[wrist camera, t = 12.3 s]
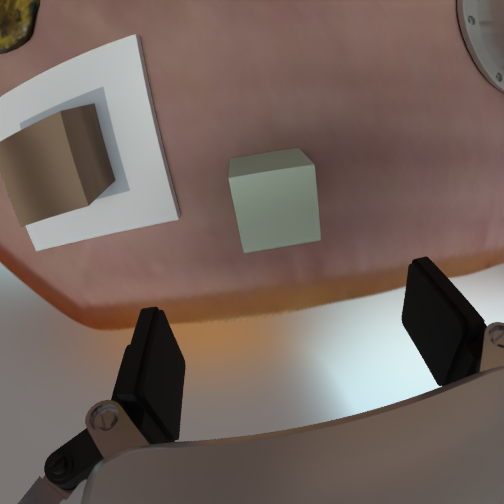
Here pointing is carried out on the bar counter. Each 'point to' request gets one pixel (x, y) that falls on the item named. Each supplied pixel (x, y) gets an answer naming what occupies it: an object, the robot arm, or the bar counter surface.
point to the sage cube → (275, 199)
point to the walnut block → (56, 165)
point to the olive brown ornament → (16, 22)
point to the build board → (115, 137)
